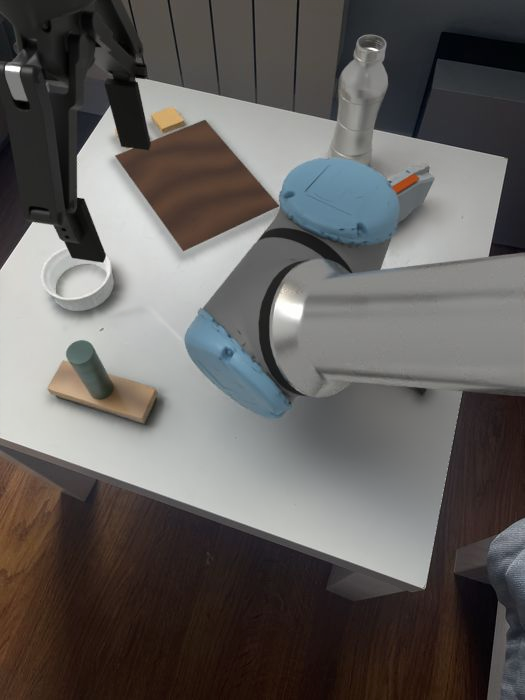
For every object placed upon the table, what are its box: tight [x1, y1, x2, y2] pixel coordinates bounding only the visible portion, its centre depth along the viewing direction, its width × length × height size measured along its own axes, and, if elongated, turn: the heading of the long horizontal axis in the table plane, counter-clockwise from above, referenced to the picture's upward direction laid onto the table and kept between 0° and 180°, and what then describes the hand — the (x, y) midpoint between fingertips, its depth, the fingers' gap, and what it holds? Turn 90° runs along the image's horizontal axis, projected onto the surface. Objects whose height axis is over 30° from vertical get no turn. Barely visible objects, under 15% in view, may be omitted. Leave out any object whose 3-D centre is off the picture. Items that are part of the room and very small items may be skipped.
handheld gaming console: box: [387, 162, 436, 225], centre depth 75 cm, size 14×3×8 cm, turn 128°
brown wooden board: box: [114, 119, 280, 252], centre depth 81 cm, size 22×16×1 cm
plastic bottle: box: [327, 34, 389, 167], centre depth 75 cm, size 6×7×20 cm
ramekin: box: [40, 246, 115, 312], centre depth 70 cm, size 9×9×4 cm
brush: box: [46, 339, 158, 425], centre depth 60 cm, size 4×12×12 cm, turn 72°
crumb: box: [150, 106, 186, 134], centre depth 87 cm, size 4×4×2 cm
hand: (114, 197), depth 48 cm, fingers open, 13 cm apart
